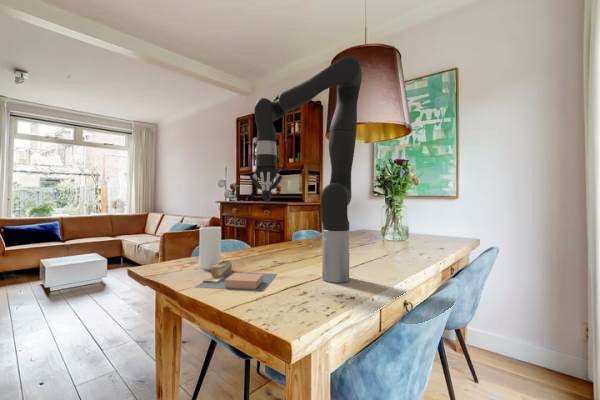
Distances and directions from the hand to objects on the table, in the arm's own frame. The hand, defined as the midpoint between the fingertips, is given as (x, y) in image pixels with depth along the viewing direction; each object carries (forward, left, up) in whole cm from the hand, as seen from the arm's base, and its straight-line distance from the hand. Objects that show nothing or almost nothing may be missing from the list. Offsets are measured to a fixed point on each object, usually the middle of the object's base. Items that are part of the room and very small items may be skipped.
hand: (266, 200), depth 105 cm
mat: (+6, +12, -27) cm, 30 cm away
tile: (+8, +16, -25) cm, 31 cm away
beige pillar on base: (+14, +9, -27) cm, 32 cm away
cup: (+24, -4, -27) cm, 36 cm away
